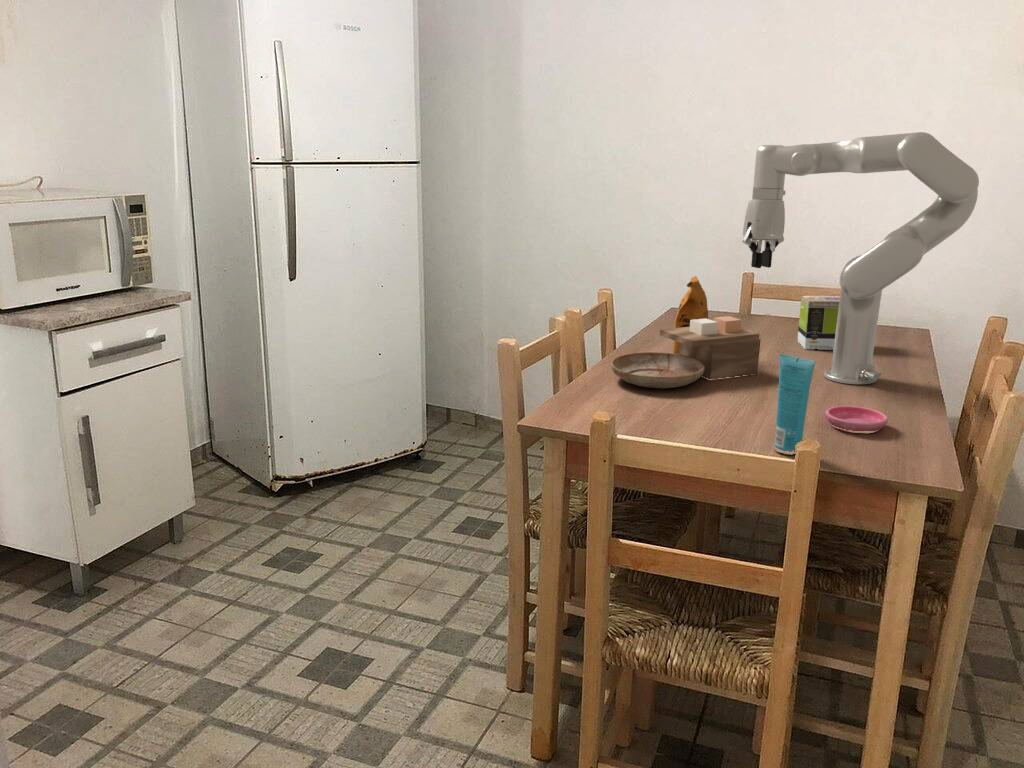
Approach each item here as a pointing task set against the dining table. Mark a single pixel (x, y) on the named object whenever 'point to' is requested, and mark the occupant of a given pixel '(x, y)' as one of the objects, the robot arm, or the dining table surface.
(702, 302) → the coffee package
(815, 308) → the tea box
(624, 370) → the ceramic bowl
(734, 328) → the peach clay cube
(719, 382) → the dining table surface
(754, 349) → the wooden box
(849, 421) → the saucer
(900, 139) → the robot arm
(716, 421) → the dining table surface
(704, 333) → the white square block
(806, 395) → the tube
